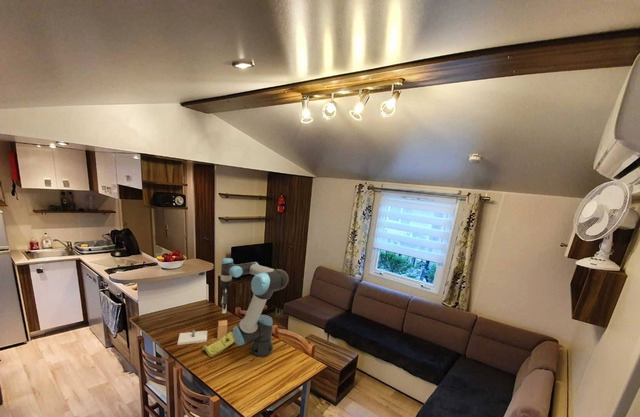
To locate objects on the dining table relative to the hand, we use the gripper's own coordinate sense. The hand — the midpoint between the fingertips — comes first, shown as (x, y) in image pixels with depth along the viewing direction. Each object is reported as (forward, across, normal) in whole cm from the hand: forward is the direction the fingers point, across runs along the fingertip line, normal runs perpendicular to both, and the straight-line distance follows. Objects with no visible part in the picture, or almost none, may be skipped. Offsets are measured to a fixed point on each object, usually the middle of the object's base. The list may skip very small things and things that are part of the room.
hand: (223, 308), depth 187 cm
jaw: (+21, 0, 0) cm, 21 cm away
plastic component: (+21, +15, -2) cm, 26 cm away
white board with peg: (+21, -1, -19) cm, 28 cm away
